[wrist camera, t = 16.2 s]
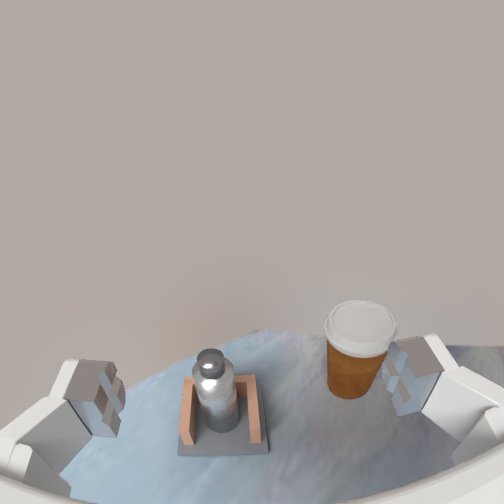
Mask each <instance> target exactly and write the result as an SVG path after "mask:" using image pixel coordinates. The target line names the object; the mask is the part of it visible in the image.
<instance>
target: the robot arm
mask: <svg viewBox="0 0 504 504" xmlns="http://www.w3.org/2000/svg"><path fill="white" fill-rule="evenodd" d="M387 352H388V354H389V357H388V358H387V359H386V360H385V361H384V363H383V366H382V380H383V384H384V386H385V388H386V390H387V391H389V392H390V393H392V394H393V395H392V398H391V402H392V404H393V407H394V409H395V411H396V413H397V416H403V415H407V414H411V413H415V412H419V411H422V413H423V414H424V415H426V416H427V417H428V418H429V419H431V420H432V421H433V422H434V423H436V424H437V425H438V426H440V427H441V428H442V429H443V430H445V431H446V432H447V433H448V434H450V435H451V436H452V437H453V438H455V439H456V440H457V441H459V442H460V443H461V444H460V445H459V446H458V447H457V449H456V450H455V451H454V452H453V454H452V456H451V458H452V461H453V463H454V465H455V466H454V467H452V468H449V469H447V470H445V471H442V472H440V473H437V474H435V475H432V476H429V477H427V478H424V479H421V480H418V481H416V482H413V483H410V484H407V485H404V486H401V487H397V488H394V489H391V490H387V491H384V492H380V493H377V494H373V495H369V496H366V497H362V498H357V499H353V500H349V501H344V502H339V503H334V504H504V388H503V387H501V386H499V385H497V384H495V383H493V382H492V381H490V380H488V379H486V378H484V377H482V376H480V375H478V374H477V373H475V372H473V371H471V370H469V369H467V368H465V367H464V366H461V367H459V366H458V365H457V363H456V362H455V360H454V359H453V357H452V356H451V354H450V353H449V351H448V350H447V349H446V347H445V346H444V344H443V343H442V341H441V340H440V338H439V337H438V336H437V335H436V334H435V333H431V334H426V335H421V336H416V337H411V338H406V339H402V340H397V341H392V342H391V343H390V344H389V346H388V350H387ZM116 372H117V369H116V367H115V365H114V363H113V362H109V361H95V360H83V359H82V360H80V359H67V360H66V361H65V362H64V364H63V366H62V368H61V370H60V372H59V374H58V376H57V379H56V381H55V383H54V385H53V388H52V390H51V392H50V394H49V397H43V398H42V399H41V400H40V401H38V402H37V403H36V404H34V405H33V406H32V407H30V408H29V409H28V410H27V411H25V412H24V413H23V414H21V415H20V416H19V417H17V418H16V419H15V420H14V421H12V422H11V423H10V424H8V425H7V426H6V427H4V428H3V429H2V430H1V431H0V504H96V503H92V502H87V501H83V500H78V499H74V498H70V497H69V496H70V491H71V486H70V485H69V483H68V482H67V481H65V480H64V479H63V478H62V477H61V476H60V475H59V474H60V473H61V472H62V471H63V469H64V468H65V467H66V466H67V465H68V464H69V463H70V462H71V461H72V459H73V458H74V457H75V456H76V455H77V454H78V453H79V452H80V451H81V449H82V448H83V447H84V446H85V445H86V444H87V443H88V442H89V441H90V439H91V438H92V436H100V437H110V438H117V436H118V431H119V427H120V423H121V420H120V418H119V416H118V414H119V413H120V412H121V411H122V410H123V409H124V405H125V388H124V385H123V382H122V381H121V379H119V378H118V377H116V376H115V375H116Z"/></svg>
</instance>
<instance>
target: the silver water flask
mask: <svg viewBox="0 0 504 504" xmlns="http://www.w3.org/2000/svg"><path fill="white" fill-rule="evenodd" d="M192 375H193V378H194V382H195V386H196V390H197V393H198V397H199V401H200V404H201V408H202V411H203V415H204V418H205V422H206V425H207V426H208V428H209V429H211V430H212V431H214V432H218V433H226V432H230V431H232V430H233V429H235V428H236V427H237V426H238V424H239V421H240V416H239V408H238V401H237V393H236V386H235V378H234V370H233V365H232V363H231V362H230V361H229V360H228V359H226V358H224V356H223V353H222V352H221V351H219V350H217V349H206V350H203V351H201V352H200V353H199V354H198V356H197V363H196V364H195V365H194V367H193V369H192Z"/></svg>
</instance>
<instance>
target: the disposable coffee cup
mask: <svg viewBox="0 0 504 504" xmlns="http://www.w3.org/2000/svg"><path fill="white" fill-rule="evenodd" d="M324 331H325V335H326V337H327V353H328V354H327V356H328V357H327V359H328V360H327V362H328V364H327V365H328V381H327V382H328V387H329V389H330V390H331V392H332V393H333V394H335V395H336V396H338V397H340V398H344V399H355V398H359V397H361V396H363V395H364V394H365V393H366V392H367V391H368V389H369V387H370V385H371V383H372V381H373V380H374V378H375V376H376V374H377V372H378V370H379V368H380V366H381V364H382V362H383V360H384V358H385V356H386V354H387V350H388V346H389V344H390V343H391V342H392V341H396V339H397V335H398V331H397V327H396V320H395V318H394V316H393V314H392V313H391V312H390V311H389V310H388V309H386V308H385V307H383V306H382V305H380V304H377V303H375V302H371V301H366V300H352V301H346V302H343V303H340V304H338V305H337V306H336V307H334V308H333V309H332V311H331V312H330V314H329V315H328V316H327V318H326V320H325V323H324Z"/></svg>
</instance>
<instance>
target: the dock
mask: <svg viewBox="0 0 504 504" xmlns="http://www.w3.org/2000/svg"><path fill="white" fill-rule="evenodd" d="M234 378H235V386H236V393H237V401H238V408H239V416H240V421H239V424H238V426H237V427H236V428H235V429H233V430H232V431H230V432H226V433H218V432H214V431H212V430H211V429H209V428H208V426H207V425H206V422H205V418H204V415H203V411H202V408H201V404H200V401H199V397H198V393H197V390H196V386H195V382H194V378H193V377H184V386H183V395H182V405H181V414H180V425H179V444H178V456H234V455H252V454H265V453H269V451H268V442H267V434H266V425H265V416H264V407H263V398H262V389H261V386H256V380H255V374H252V375H237V376H234Z"/></svg>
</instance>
